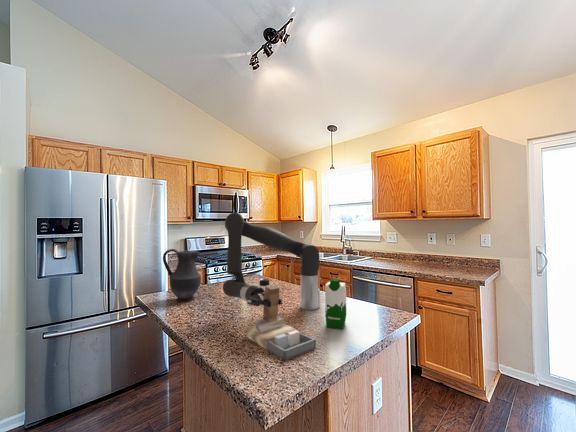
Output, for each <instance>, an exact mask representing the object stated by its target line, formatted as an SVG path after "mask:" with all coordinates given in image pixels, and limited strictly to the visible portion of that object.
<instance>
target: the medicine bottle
mask: <svg viewBox="0 0 576 432" xmlns="http://www.w3.org/2000/svg"><path fill="white" fill-rule="evenodd" d="M265 286H270V279H268V278H261V279H259V280H258V287H261V288H262V289H263V290H264V291H265Z"/></svg>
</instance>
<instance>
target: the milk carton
mask: <svg viewBox="0 0 576 432" xmlns="http://www.w3.org/2000/svg"><path fill="white" fill-rule="evenodd" d="M324 288H325V289H324V291H325V292H324V295H325V296H324V297H325V299H324V302H325V305H324V306H325V308H324V311H325V313H324V314H325V316H324V317H325V325H326V326H325V327H326V328H327V329H328V328H329V329H335V328H337V330H344V328H345V325H346V319H347V288H346V282H341V281H340V279H337V278H331V279H329V281H328V282H326V283H325V286H324Z"/></svg>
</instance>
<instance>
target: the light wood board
mask: <svg viewBox="0 0 576 432" xmlns="http://www.w3.org/2000/svg"><path fill="white" fill-rule="evenodd" d="M295 330H297V331H298V329H297V328H295V327H292V326H291V325H288V324H285V323H284V322H283V326H281V327H278V328H275V329H271V330H268V331H265V332H260V331H259V330H258V329H256V324H255V325H252V326H248V327H246V338H247V339H249V340H251V341H253V342H254V343H256V344H257V345H259V346H260V347H262V348H264V349H265V350H267V341H271V342H272V343H274V344H275V336H278V335H281V334H285V335H287V333H289V332H292V331H295ZM287 342H288V336H287Z"/></svg>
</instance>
